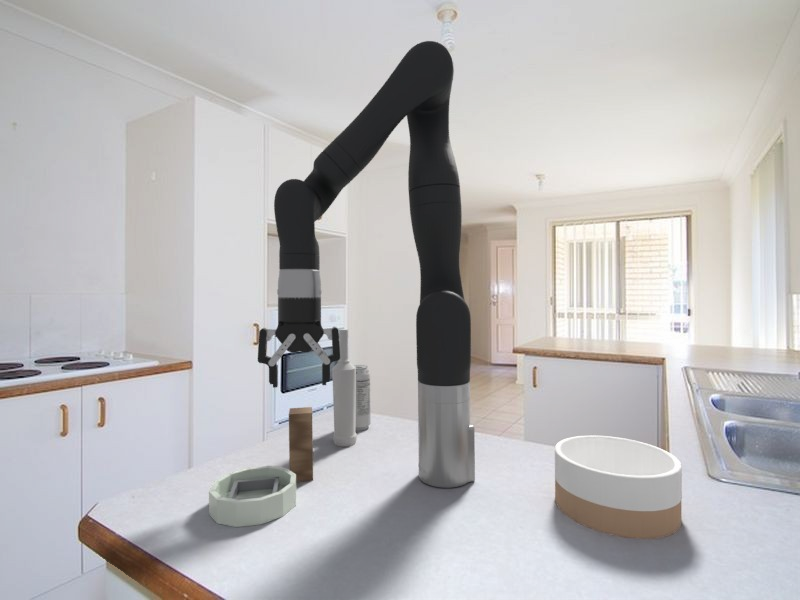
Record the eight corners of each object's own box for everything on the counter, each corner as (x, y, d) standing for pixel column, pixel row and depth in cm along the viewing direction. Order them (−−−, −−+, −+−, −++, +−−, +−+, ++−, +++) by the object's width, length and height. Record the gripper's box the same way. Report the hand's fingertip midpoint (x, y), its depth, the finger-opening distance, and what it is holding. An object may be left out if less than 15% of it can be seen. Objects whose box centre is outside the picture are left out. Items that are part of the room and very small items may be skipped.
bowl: (697, 509, 65) (698, 454, 65) (656, 556, 54) (656, 489, 54) (585, 474, 78) (585, 428, 78) (533, 506, 67) (533, 452, 67)
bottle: (352, 447, 93) (351, 330, 92) (329, 446, 94) (328, 330, 93) (359, 439, 98) (358, 328, 97) (337, 438, 99) (336, 328, 98)
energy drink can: (359, 422, 111) (358, 363, 110) (375, 427, 106) (375, 366, 106) (340, 427, 106) (340, 366, 106) (357, 433, 102) (356, 369, 102)
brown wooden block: (313, 471, 81) (312, 407, 80) (313, 480, 77) (312, 412, 76) (290, 473, 80) (289, 408, 80) (289, 482, 76) (288, 414, 76)
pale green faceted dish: (297, 483, 75) (297, 463, 75) (294, 520, 63) (294, 496, 63) (220, 490, 73) (219, 470, 73) (201, 531, 61) (201, 506, 61)
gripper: (338, 295, 83) (338, 380, 83) (260, 295, 80) (260, 383, 80) (341, 295, 75) (341, 388, 76) (255, 295, 73) (255, 392, 73)
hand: (299, 385), depth 78 cm, fingers open, 8 cm apart
